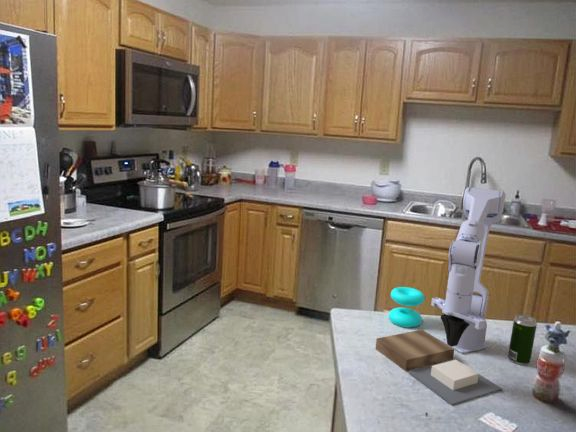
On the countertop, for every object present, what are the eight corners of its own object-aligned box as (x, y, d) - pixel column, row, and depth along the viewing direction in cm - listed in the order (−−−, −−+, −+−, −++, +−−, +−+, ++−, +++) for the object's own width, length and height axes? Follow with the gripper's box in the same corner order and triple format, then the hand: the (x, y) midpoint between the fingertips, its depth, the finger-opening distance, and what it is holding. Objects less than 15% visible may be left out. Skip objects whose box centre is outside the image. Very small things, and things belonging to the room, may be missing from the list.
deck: (420, 339, 130) (422, 329, 130) (452, 359, 120) (454, 348, 119) (375, 348, 123) (376, 338, 123) (405, 371, 113) (406, 359, 112)
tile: (454, 368, 115) (455, 359, 114) (477, 382, 109) (478, 373, 108) (430, 374, 111) (431, 365, 111) (453, 390, 105) (454, 380, 104)
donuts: (393, 296, 135) (389, 284, 145) (390, 327, 137) (386, 314, 147) (428, 298, 134) (421, 287, 144) (424, 330, 136) (417, 316, 146)
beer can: (522, 368, 118) (530, 324, 115) (503, 358, 122) (510, 316, 120) (534, 362, 121) (541, 320, 118) (514, 353, 125) (521, 312, 123)
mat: (455, 361, 119) (456, 359, 119) (501, 389, 107) (502, 388, 107) (408, 373, 112) (408, 371, 112) (451, 405, 100) (451, 403, 100)
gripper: (424, 282, 111) (418, 334, 114) (472, 305, 99) (464, 362, 102) (446, 279, 115) (439, 329, 117) (495, 300, 102) (486, 356, 105)
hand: (452, 344), depth 110 cm, fingers closed
